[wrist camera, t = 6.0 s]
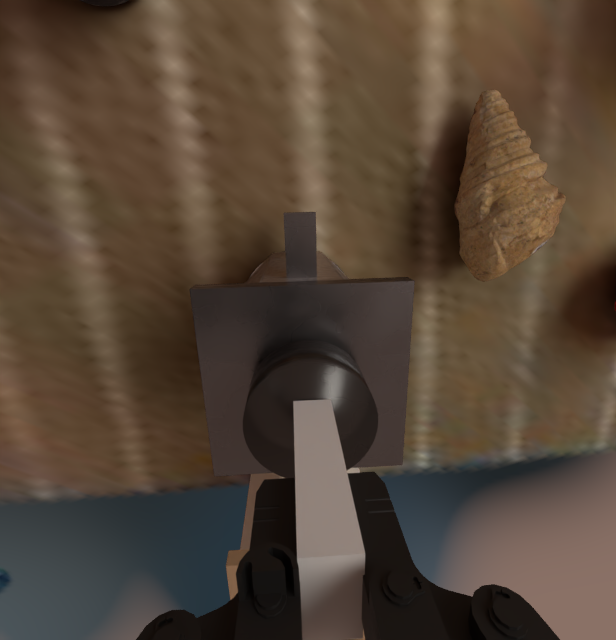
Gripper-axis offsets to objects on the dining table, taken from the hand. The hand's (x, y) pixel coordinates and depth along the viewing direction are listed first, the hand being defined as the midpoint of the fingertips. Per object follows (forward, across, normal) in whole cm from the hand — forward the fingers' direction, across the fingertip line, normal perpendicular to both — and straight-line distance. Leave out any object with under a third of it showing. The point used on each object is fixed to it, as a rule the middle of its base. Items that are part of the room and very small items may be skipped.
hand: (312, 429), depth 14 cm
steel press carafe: (+20, 0, +2) cm, 20 cm away
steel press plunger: (+16, 0, 0) cm, 16 cm away
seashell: (+20, +16, +10) cm, 27 cm away
